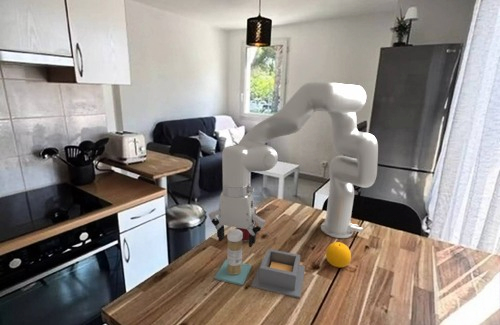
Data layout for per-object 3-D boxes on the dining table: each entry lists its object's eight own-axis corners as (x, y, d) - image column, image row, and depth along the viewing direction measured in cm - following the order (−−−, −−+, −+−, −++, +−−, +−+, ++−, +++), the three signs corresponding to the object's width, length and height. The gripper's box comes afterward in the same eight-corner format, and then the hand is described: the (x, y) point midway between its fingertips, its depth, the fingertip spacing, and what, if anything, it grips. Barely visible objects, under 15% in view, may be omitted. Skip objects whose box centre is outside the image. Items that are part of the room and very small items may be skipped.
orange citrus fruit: (350, 260, 91) (353, 241, 89) (348, 274, 84) (351, 253, 82) (326, 254, 94) (329, 235, 92) (322, 266, 87) (325, 246, 85)
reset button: (292, 270, 84) (293, 265, 83) (289, 284, 78) (289, 280, 77) (271, 265, 86) (271, 261, 85) (266, 279, 79) (266, 274, 79)
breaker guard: (305, 267, 86) (306, 252, 85) (300, 298, 73) (301, 281, 72) (263, 258, 90) (264, 244, 89) (251, 286, 77) (252, 270, 76)
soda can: (255, 233, 106) (256, 205, 103) (253, 243, 99) (255, 213, 96) (237, 231, 107) (238, 204, 104) (234, 241, 100) (235, 212, 97)
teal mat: (251, 267, 86) (251, 265, 86) (242, 285, 78) (242, 283, 77) (225, 261, 88) (225, 259, 88) (214, 278, 80) (214, 276, 80)
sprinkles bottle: (237, 264, 86) (238, 227, 82) (243, 273, 82) (245, 234, 78) (224, 268, 84) (225, 230, 80) (230, 277, 80) (230, 237, 76)
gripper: (268, 188, 77) (266, 240, 82) (213, 181, 82) (215, 231, 86) (262, 198, 70) (260, 254, 75) (202, 190, 75) (204, 243, 79)
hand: (236, 242), depth 80 cm, fingers open, 9 cm apart
